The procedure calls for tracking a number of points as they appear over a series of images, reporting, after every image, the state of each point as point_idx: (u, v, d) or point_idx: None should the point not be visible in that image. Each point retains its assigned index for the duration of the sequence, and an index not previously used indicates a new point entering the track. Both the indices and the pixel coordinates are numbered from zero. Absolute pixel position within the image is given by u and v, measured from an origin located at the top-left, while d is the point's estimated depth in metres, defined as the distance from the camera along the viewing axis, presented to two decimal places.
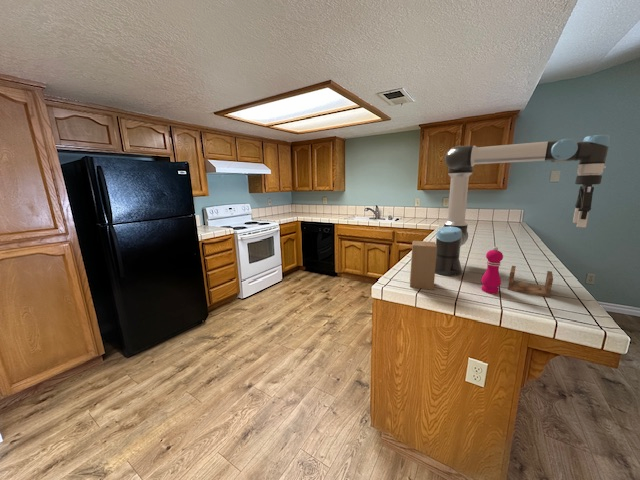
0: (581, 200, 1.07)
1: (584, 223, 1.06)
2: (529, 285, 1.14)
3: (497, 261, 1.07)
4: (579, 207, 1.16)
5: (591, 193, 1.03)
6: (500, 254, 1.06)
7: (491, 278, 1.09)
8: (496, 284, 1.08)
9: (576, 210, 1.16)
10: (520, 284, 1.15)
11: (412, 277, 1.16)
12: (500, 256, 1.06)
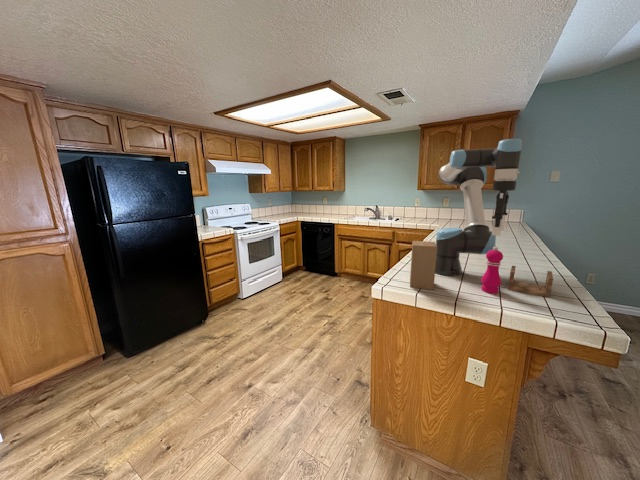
0: None
1: (498, 231, 1.01)
2: (529, 285, 1.14)
3: (497, 261, 1.07)
4: None
5: (503, 200, 0.98)
6: (500, 254, 1.06)
7: (491, 278, 1.09)
8: (496, 284, 1.08)
9: None
10: (520, 284, 1.15)
11: (412, 277, 1.16)
12: (500, 256, 1.06)
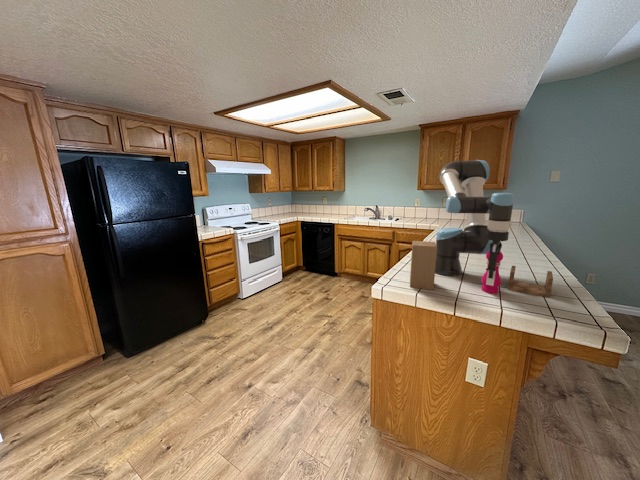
0: None
1: (492, 282, 1.08)
2: (529, 285, 1.14)
3: (497, 261, 1.07)
4: None
5: (496, 254, 1.03)
6: (500, 254, 1.06)
7: None
8: (496, 284, 1.08)
9: None
10: (520, 284, 1.15)
11: (412, 277, 1.16)
12: (500, 256, 1.06)
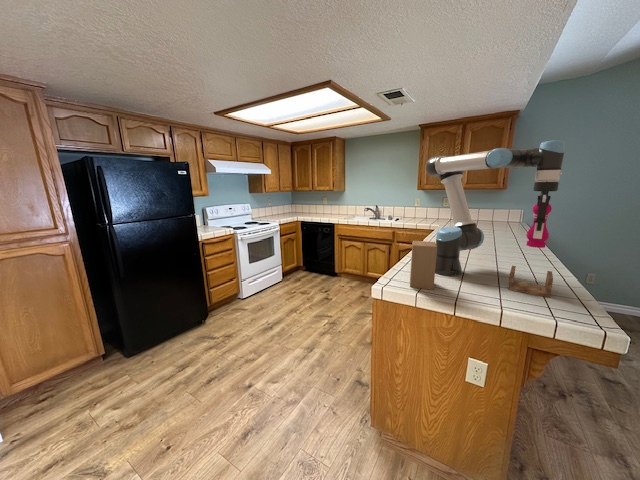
0: (538, 209, 1.04)
1: (540, 235, 1.04)
2: (529, 285, 1.14)
3: None
4: None
5: (546, 204, 1.00)
6: (549, 206, 1.03)
7: None
8: (544, 237, 1.05)
9: None
10: (520, 284, 1.15)
11: (412, 277, 1.16)
12: (549, 208, 1.03)
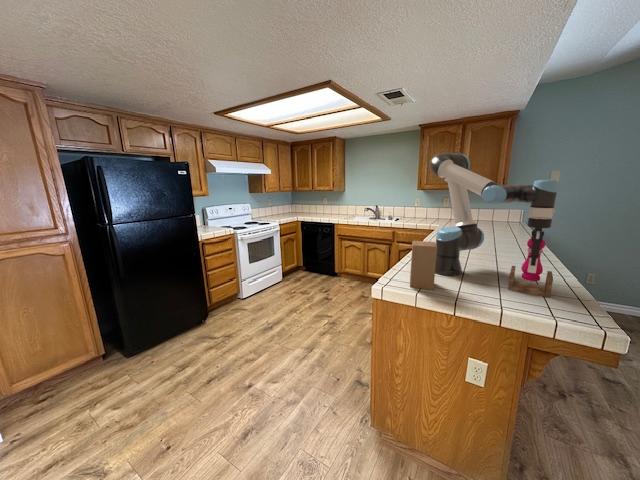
0: (532, 244, 1.08)
1: (534, 269, 1.07)
2: (529, 285, 1.14)
3: None
4: None
5: (539, 241, 1.03)
6: (543, 241, 1.06)
7: None
8: (538, 272, 1.08)
9: None
10: (520, 284, 1.15)
11: (412, 277, 1.16)
12: (543, 243, 1.06)
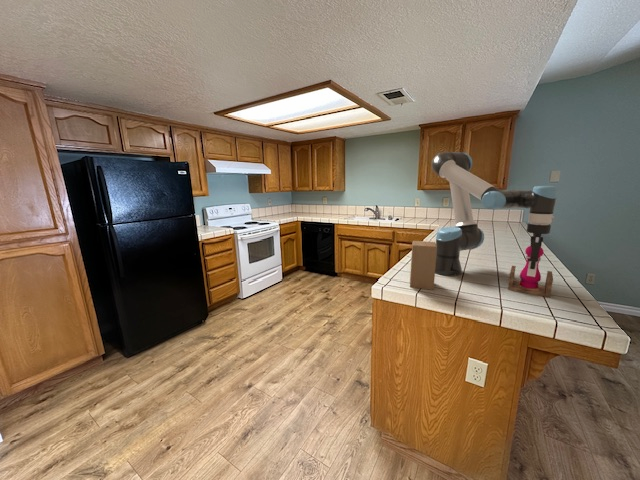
0: (531, 249, 1.07)
1: (533, 272, 1.05)
2: None
3: None
4: None
5: (539, 244, 1.03)
6: (541, 249, 1.07)
7: None
8: (536, 279, 1.09)
9: None
10: None
11: (412, 277, 1.16)
12: (541, 252, 1.07)
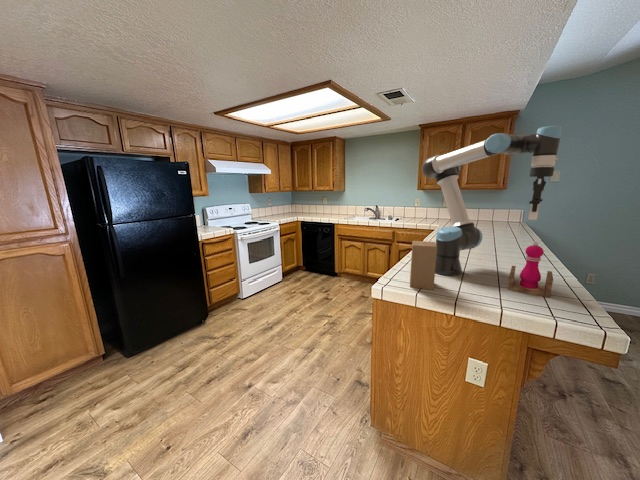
0: None
1: (535, 216, 1.04)
2: None
3: (538, 256, 1.08)
4: None
5: (541, 185, 1.01)
6: (541, 249, 1.07)
7: (531, 273, 1.09)
8: (536, 279, 1.09)
9: None
10: None
11: (412, 277, 1.16)
12: (541, 252, 1.07)
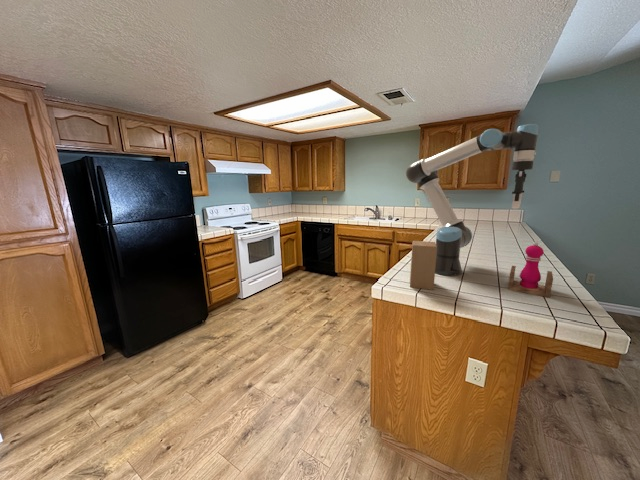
0: None
1: (517, 205, 1.16)
2: None
3: (538, 256, 1.08)
4: None
5: (522, 177, 1.13)
6: (541, 249, 1.07)
7: (531, 273, 1.09)
8: (536, 279, 1.09)
9: None
10: None
11: (412, 277, 1.16)
12: (541, 252, 1.07)
